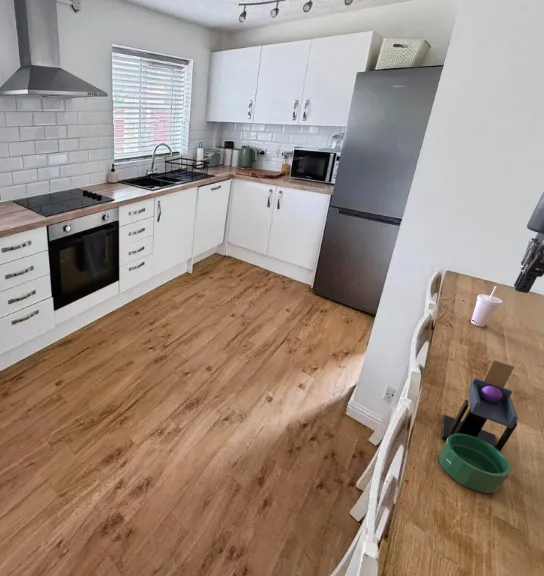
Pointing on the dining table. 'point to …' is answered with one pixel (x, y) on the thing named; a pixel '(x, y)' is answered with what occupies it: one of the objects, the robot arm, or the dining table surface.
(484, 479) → the bowl
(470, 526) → the dining table surface
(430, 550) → the dining table surface
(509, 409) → the chute
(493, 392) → the ball
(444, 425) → the stand
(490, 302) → the smoothie
